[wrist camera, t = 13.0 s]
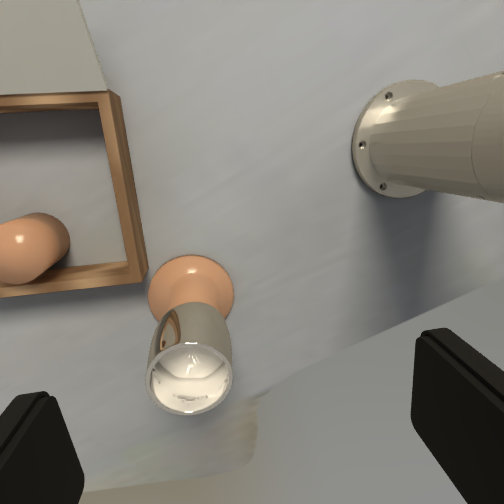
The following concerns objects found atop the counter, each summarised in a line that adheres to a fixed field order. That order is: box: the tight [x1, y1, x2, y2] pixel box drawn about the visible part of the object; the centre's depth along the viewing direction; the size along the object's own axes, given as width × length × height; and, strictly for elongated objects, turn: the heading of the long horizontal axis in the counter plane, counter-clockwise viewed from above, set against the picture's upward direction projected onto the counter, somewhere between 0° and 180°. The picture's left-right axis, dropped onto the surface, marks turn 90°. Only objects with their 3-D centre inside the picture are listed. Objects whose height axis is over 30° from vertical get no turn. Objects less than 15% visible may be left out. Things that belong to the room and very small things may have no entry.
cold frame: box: [0, 89, 149, 298], centre depth 32 cm, size 17×18×4 cm
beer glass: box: [145, 273, 233, 415], centre depth 32 cm, size 7×7×15 cm
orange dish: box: [148, 255, 234, 321], centre depth 39 cm, size 10×10×1 cm
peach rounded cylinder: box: [0, 213, 70, 284], centre depth 32 cm, size 6×6×6 cm
